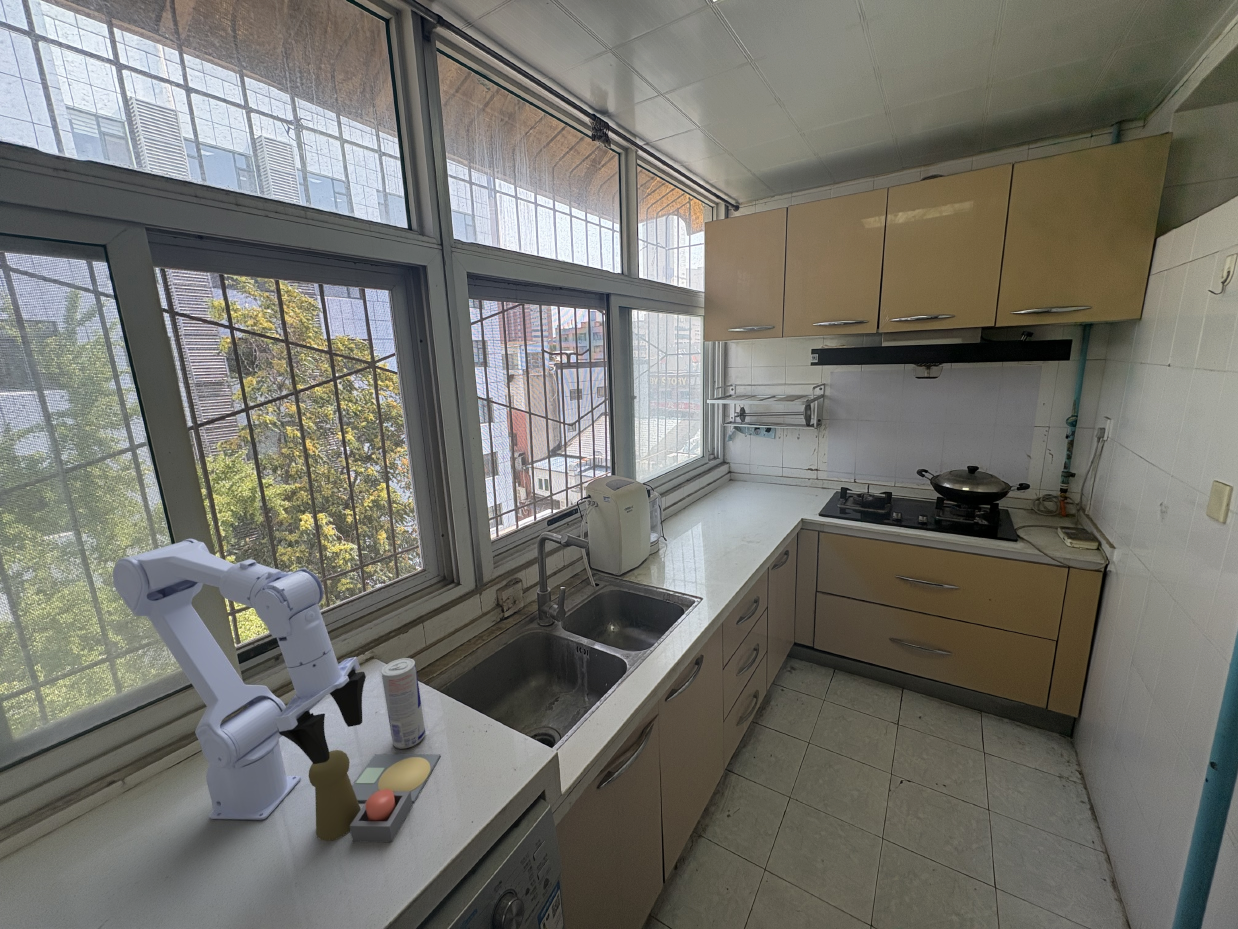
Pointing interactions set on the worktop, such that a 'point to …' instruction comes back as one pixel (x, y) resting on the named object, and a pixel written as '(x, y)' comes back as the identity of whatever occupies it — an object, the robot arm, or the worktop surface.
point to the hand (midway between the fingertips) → (339, 742)
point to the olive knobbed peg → (333, 796)
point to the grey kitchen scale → (395, 774)
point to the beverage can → (403, 702)
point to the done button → (380, 805)
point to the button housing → (382, 829)
